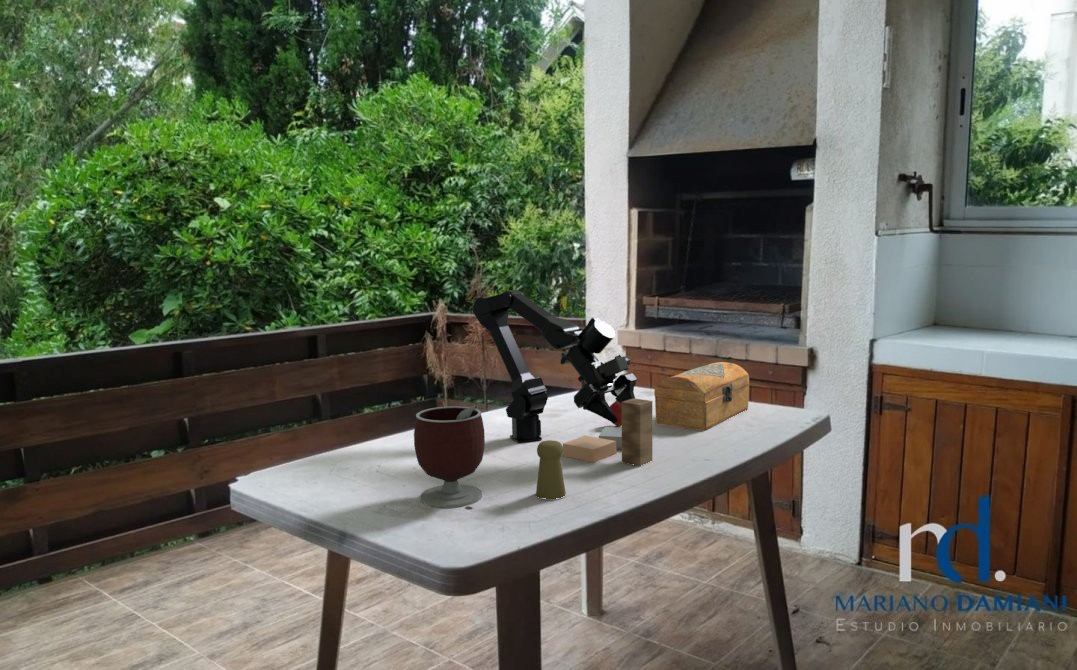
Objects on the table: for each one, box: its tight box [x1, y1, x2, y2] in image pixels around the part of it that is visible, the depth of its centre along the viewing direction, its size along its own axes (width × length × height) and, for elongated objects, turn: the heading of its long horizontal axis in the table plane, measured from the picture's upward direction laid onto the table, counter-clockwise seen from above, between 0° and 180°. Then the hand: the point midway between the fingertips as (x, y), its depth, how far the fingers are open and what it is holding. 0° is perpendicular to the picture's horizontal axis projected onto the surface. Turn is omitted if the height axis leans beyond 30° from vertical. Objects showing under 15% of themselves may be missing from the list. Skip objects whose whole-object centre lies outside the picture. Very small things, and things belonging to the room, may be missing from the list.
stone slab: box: [598, 426, 622, 450], centre depth 193 cm, size 9×9×3 cm
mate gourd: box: [413, 404, 486, 509], centre depth 155 cm, size 16×14×20 cm
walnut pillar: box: [621, 397, 653, 467], centre depth 178 cm, size 5×5×14 cm
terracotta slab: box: [562, 435, 617, 463], centre depth 185 cm, size 9×9×3 cm
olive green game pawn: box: [535, 439, 567, 499], centre depth 156 cm, size 6×6×11 cm
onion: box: [609, 399, 622, 428], centre depth 210 cm, size 6×6×8 cm
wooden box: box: [653, 361, 750, 432], centre depth 220 cm, size 30×16×14 cm, turn 142°
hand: (627, 418), depth 179 cm, fingers open, 9 cm apart
